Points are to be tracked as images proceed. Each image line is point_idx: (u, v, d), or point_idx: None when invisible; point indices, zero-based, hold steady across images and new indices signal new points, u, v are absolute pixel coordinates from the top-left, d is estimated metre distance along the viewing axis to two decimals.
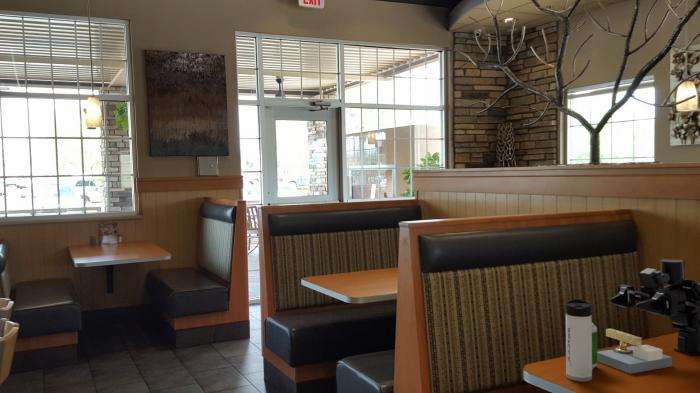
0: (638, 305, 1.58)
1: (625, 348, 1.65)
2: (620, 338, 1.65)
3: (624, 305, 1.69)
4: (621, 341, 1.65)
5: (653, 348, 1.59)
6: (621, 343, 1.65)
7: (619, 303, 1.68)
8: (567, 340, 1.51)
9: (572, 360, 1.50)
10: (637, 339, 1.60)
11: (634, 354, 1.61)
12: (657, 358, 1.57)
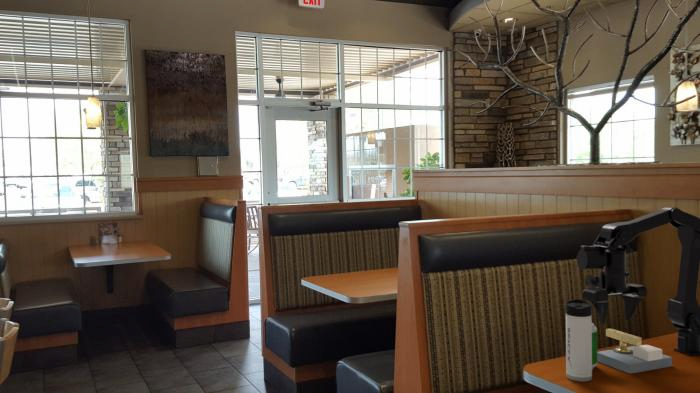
0: (601, 322, 1.67)
1: (625, 348, 1.65)
2: (620, 338, 1.65)
3: (634, 303, 1.68)
4: (621, 341, 1.65)
5: (653, 348, 1.59)
6: (621, 343, 1.65)
7: (630, 310, 1.69)
8: (567, 340, 1.51)
9: (572, 360, 1.50)
10: (637, 339, 1.60)
11: (634, 354, 1.61)
12: (657, 358, 1.57)
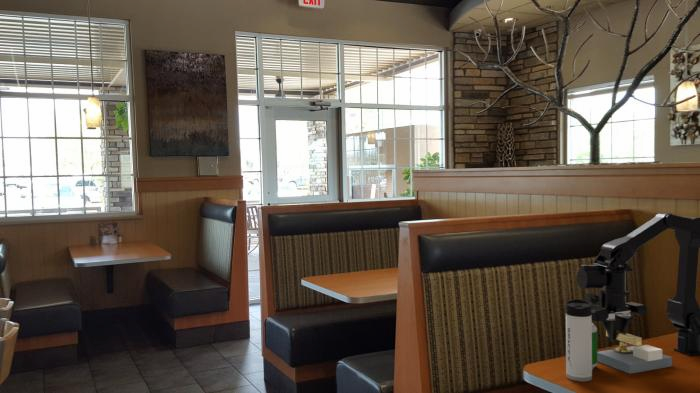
0: (610, 339, 1.68)
1: (625, 348, 1.65)
2: (620, 338, 1.65)
3: (624, 323, 1.67)
4: (621, 341, 1.65)
5: (653, 348, 1.59)
6: (621, 343, 1.65)
7: (621, 330, 1.68)
8: (567, 340, 1.51)
9: (572, 360, 1.50)
10: (637, 339, 1.60)
11: (634, 354, 1.61)
12: (657, 358, 1.57)
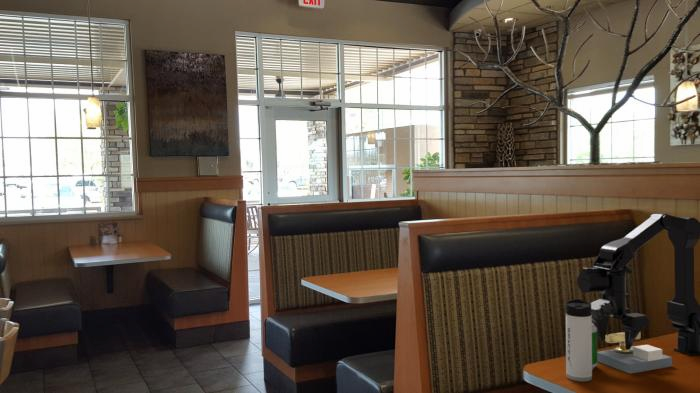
0: (628, 348, 1.60)
1: None
2: None
3: (607, 321, 1.70)
4: None
5: (653, 348, 1.59)
6: None
7: (605, 329, 1.69)
8: (567, 340, 1.51)
9: (572, 360, 1.50)
10: None
11: (634, 354, 1.61)
12: (657, 358, 1.57)
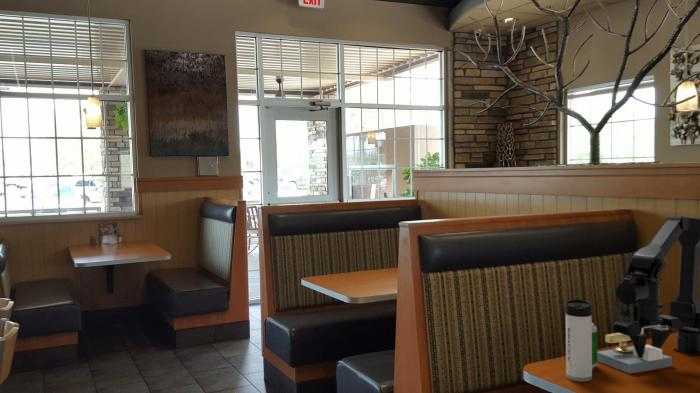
0: (638, 355, 1.59)
1: None
2: (625, 339, 1.65)
3: (662, 337, 1.59)
4: (626, 341, 1.65)
5: (653, 348, 1.59)
6: (625, 343, 1.65)
7: (658, 344, 1.59)
8: (567, 340, 1.51)
9: (572, 360, 1.50)
10: None
11: (634, 354, 1.61)
12: (657, 358, 1.57)
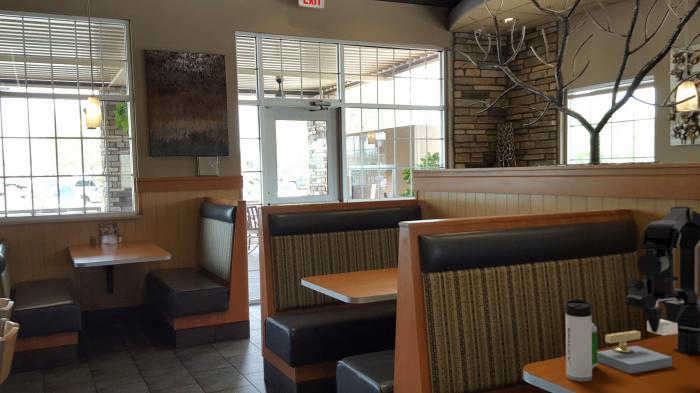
0: (652, 330, 1.52)
1: None
2: (625, 339, 1.65)
3: (677, 311, 1.52)
4: (626, 341, 1.65)
5: (668, 322, 1.52)
6: (625, 343, 1.65)
7: (673, 318, 1.52)
8: (567, 340, 1.51)
9: (572, 360, 1.50)
10: None
11: (648, 329, 1.54)
12: (672, 332, 1.50)
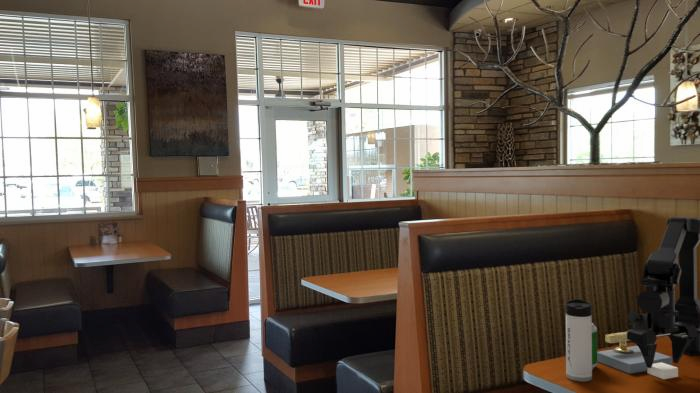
0: (647, 366, 1.51)
1: None
2: (625, 339, 1.65)
3: (683, 345, 1.52)
4: (626, 341, 1.65)
5: (668, 366, 1.52)
6: (625, 343, 1.65)
7: (679, 352, 1.53)
8: (567, 340, 1.51)
9: (572, 360, 1.50)
10: None
11: (648, 372, 1.54)
12: None
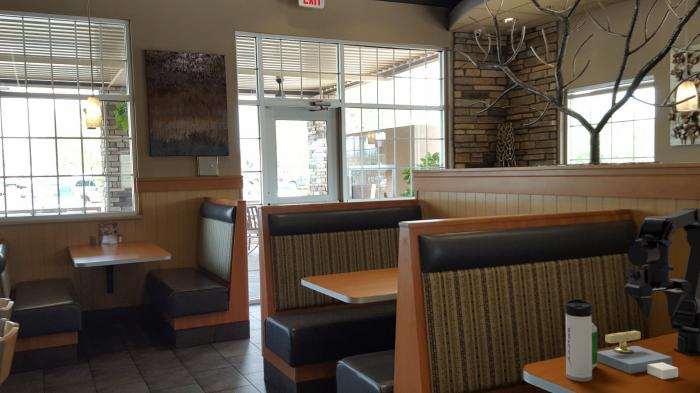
0: (644, 318, 1.60)
1: None
2: (625, 339, 1.65)
3: (677, 299, 1.62)
4: (626, 341, 1.65)
5: (668, 366, 1.52)
6: (625, 343, 1.65)
7: (674, 306, 1.62)
8: (567, 340, 1.51)
9: (572, 360, 1.50)
10: None
11: (648, 372, 1.54)
12: (672, 377, 1.51)
